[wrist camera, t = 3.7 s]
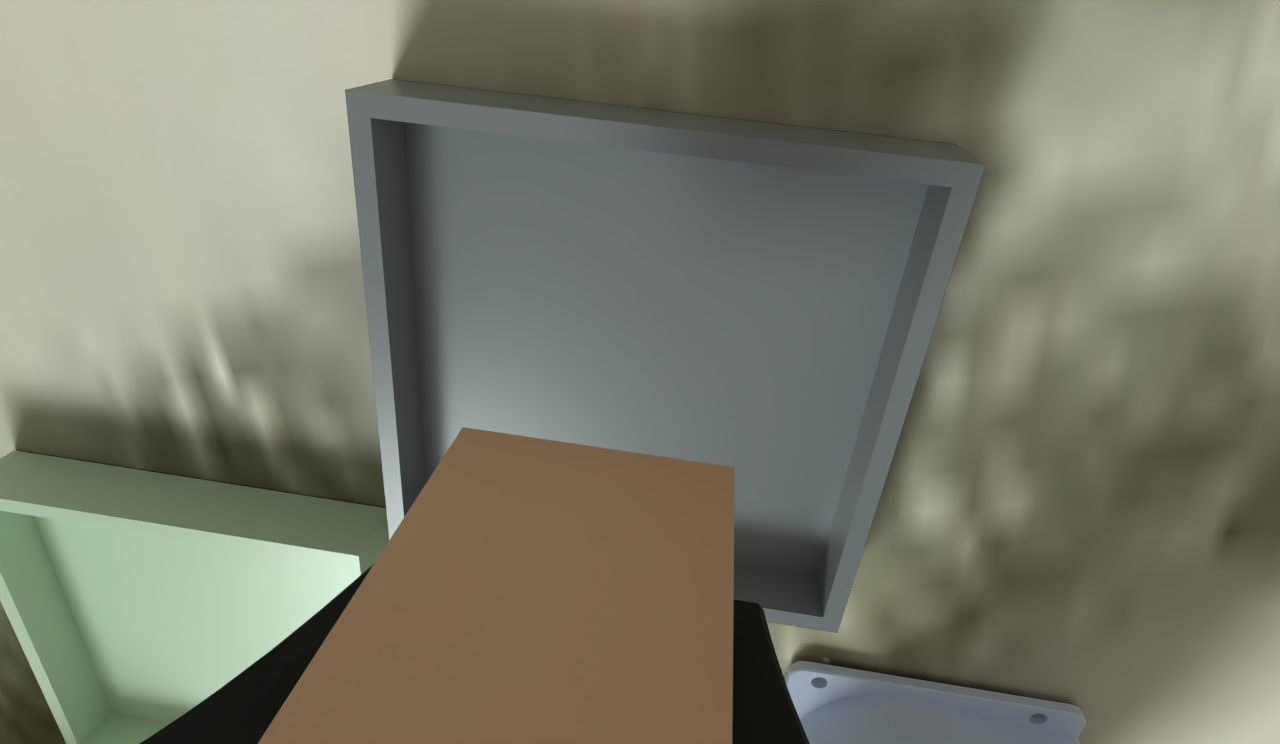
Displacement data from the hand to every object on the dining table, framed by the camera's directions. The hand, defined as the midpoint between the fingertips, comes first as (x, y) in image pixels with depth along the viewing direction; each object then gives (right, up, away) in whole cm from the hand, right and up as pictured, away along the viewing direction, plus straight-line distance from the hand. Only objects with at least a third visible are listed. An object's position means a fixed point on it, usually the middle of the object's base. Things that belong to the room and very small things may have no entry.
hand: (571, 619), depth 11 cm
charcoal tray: (+1, +4, +8) cm, 9 cm away
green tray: (-14, -5, +15) cm, 21 cm away
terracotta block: (0, +1, +1) cm, 2 cm away
